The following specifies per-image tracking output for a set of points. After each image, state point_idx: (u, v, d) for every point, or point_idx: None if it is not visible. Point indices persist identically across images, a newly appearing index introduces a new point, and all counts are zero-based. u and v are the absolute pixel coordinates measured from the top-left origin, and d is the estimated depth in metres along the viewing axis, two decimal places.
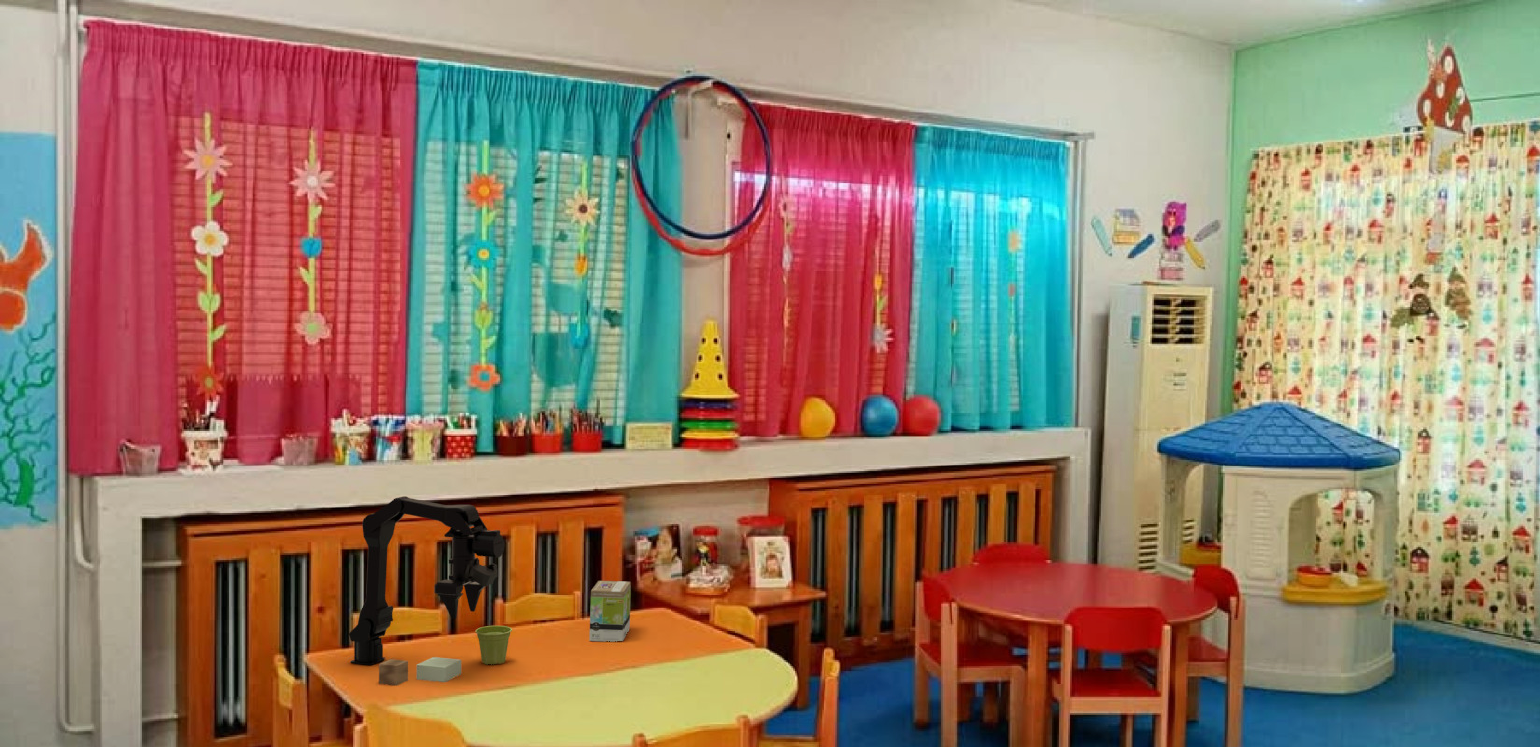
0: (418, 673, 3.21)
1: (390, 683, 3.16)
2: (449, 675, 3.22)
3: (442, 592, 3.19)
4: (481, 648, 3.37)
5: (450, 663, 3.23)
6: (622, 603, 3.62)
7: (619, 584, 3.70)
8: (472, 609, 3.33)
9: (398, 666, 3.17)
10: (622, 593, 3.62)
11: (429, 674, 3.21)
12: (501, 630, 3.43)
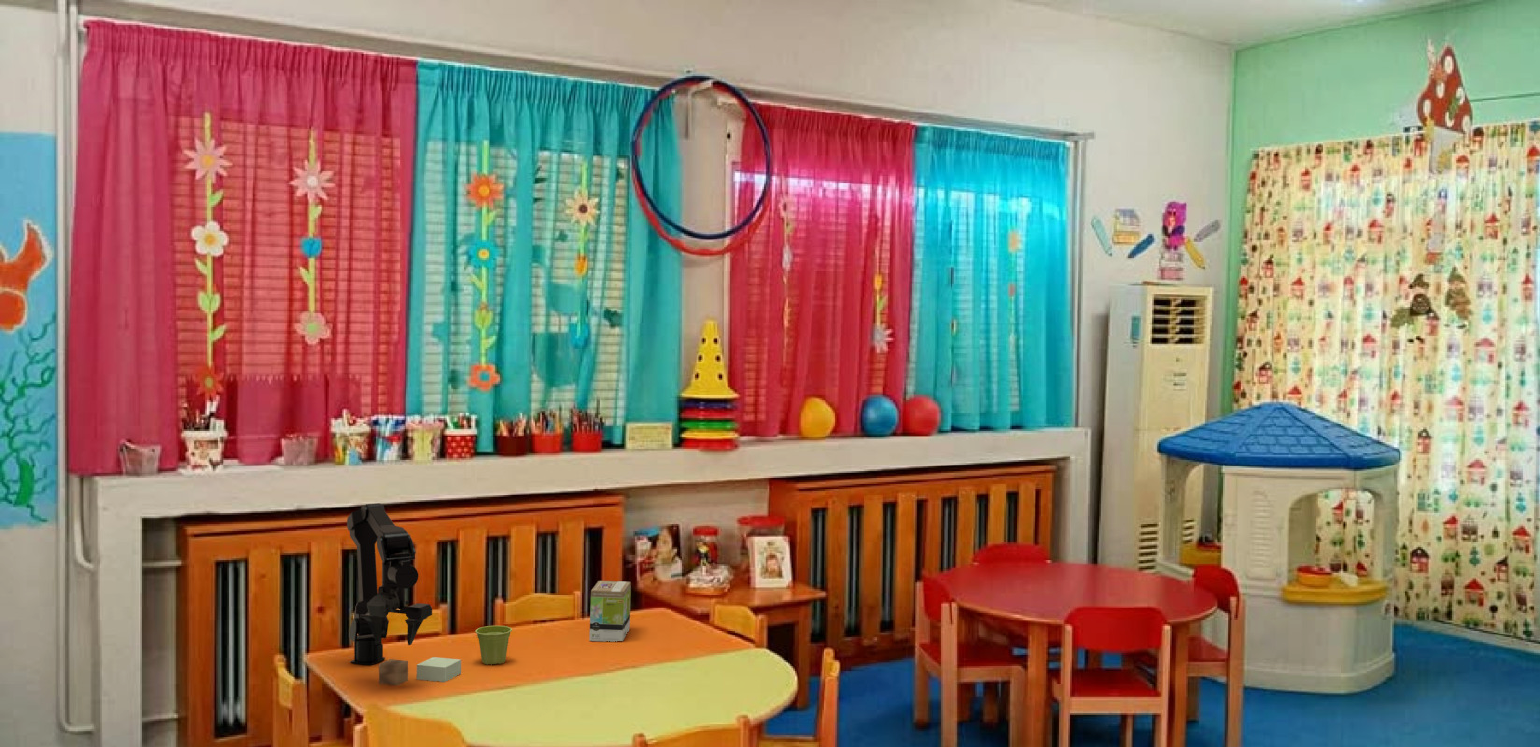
0: (418, 673, 3.21)
1: (390, 683, 3.16)
2: (449, 675, 3.22)
3: None
4: (481, 648, 3.37)
5: (450, 663, 3.23)
6: (622, 603, 3.62)
7: (619, 584, 3.70)
8: None
9: (398, 666, 3.17)
10: (622, 593, 3.62)
11: (430, 674, 3.21)
12: (501, 630, 3.43)
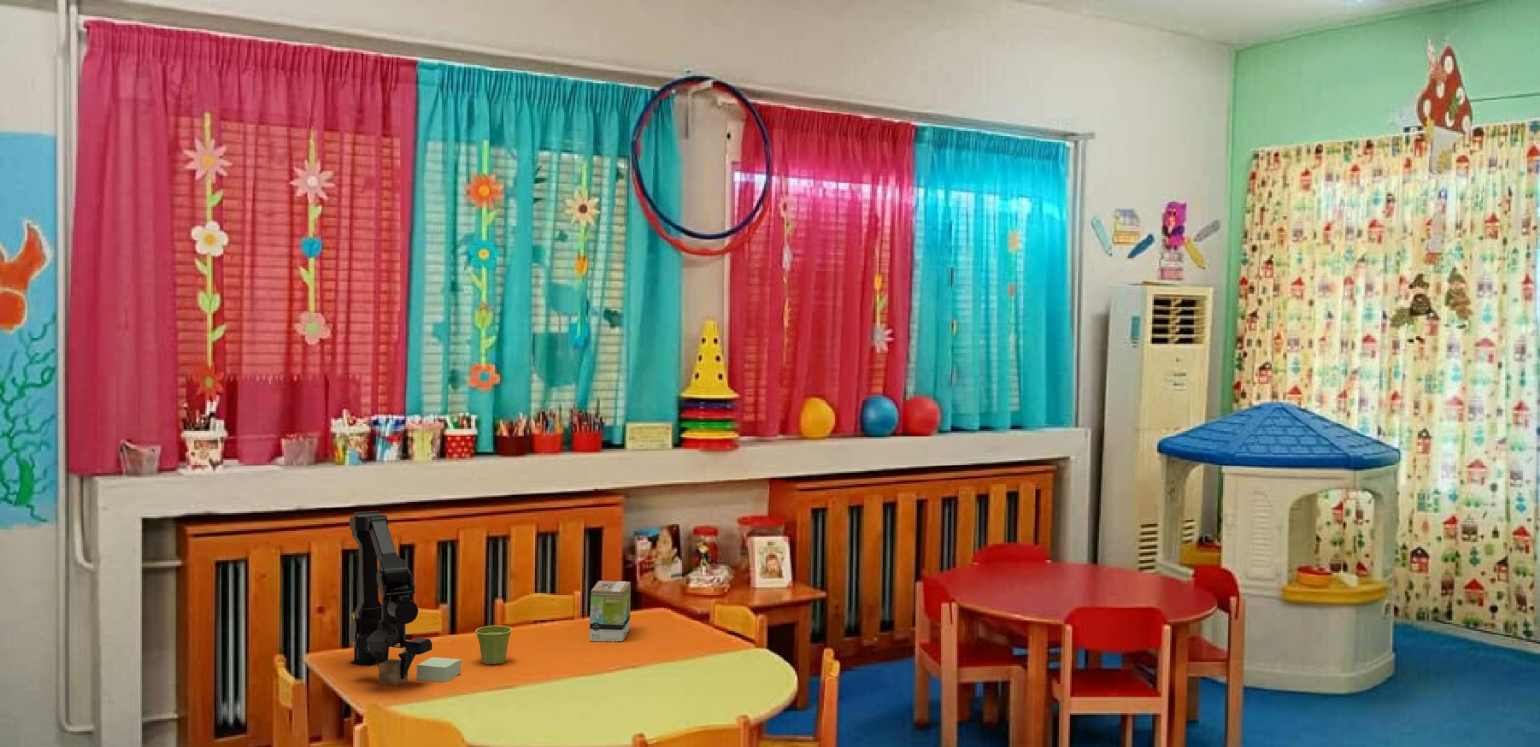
0: (418, 673, 3.21)
1: (390, 683, 3.16)
2: (450, 675, 3.22)
3: None
4: (481, 648, 3.37)
5: (450, 663, 3.23)
6: (622, 603, 3.62)
7: (619, 584, 3.70)
8: None
9: (398, 666, 3.17)
10: (622, 593, 3.62)
11: (430, 674, 3.21)
12: (501, 630, 3.43)
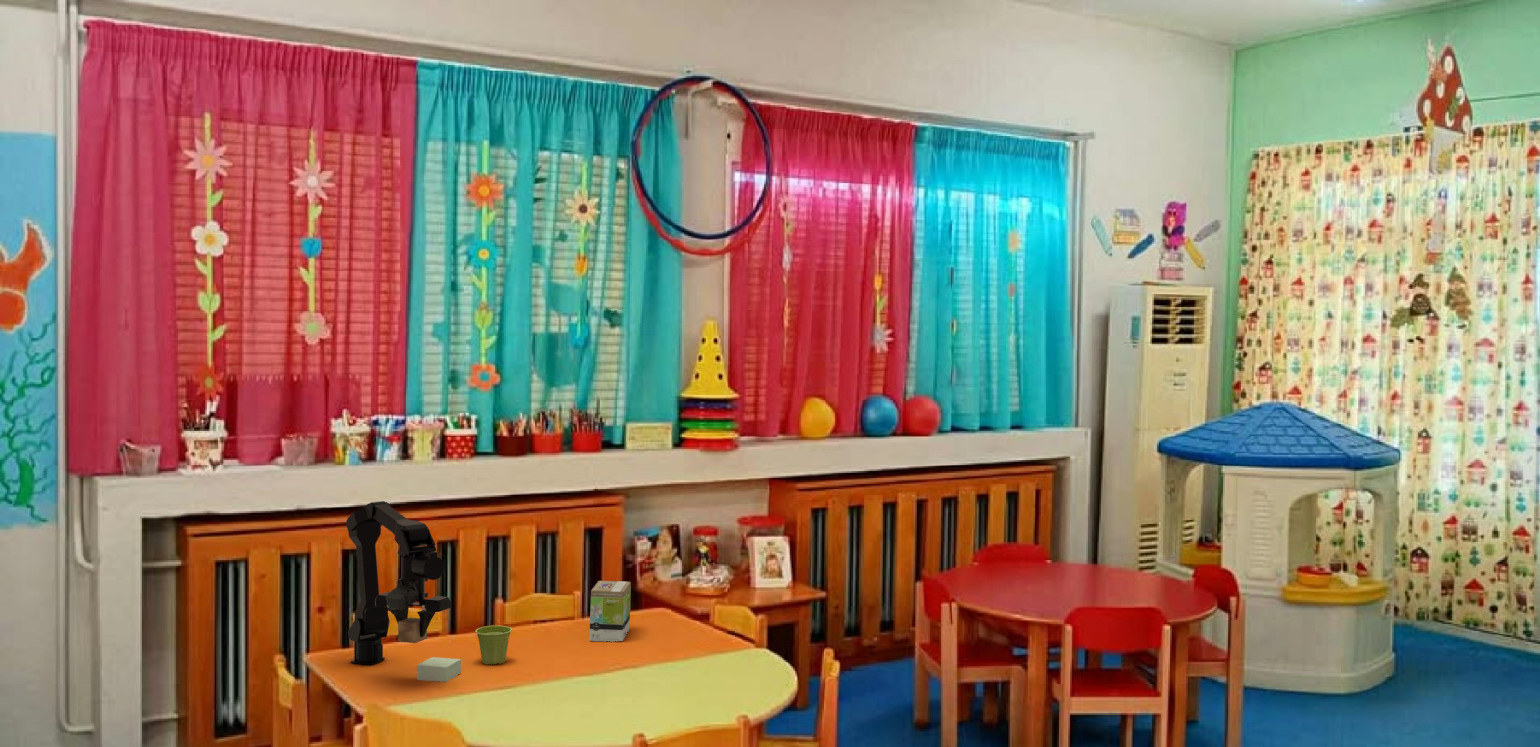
0: (419, 673, 3.21)
1: (409, 640, 3.18)
2: (450, 675, 3.22)
3: None
4: (481, 648, 3.37)
5: (450, 663, 3.23)
6: (622, 603, 3.62)
7: (619, 584, 3.70)
8: None
9: (417, 623, 3.18)
10: (622, 593, 3.62)
11: (430, 674, 3.21)
12: (501, 630, 3.43)
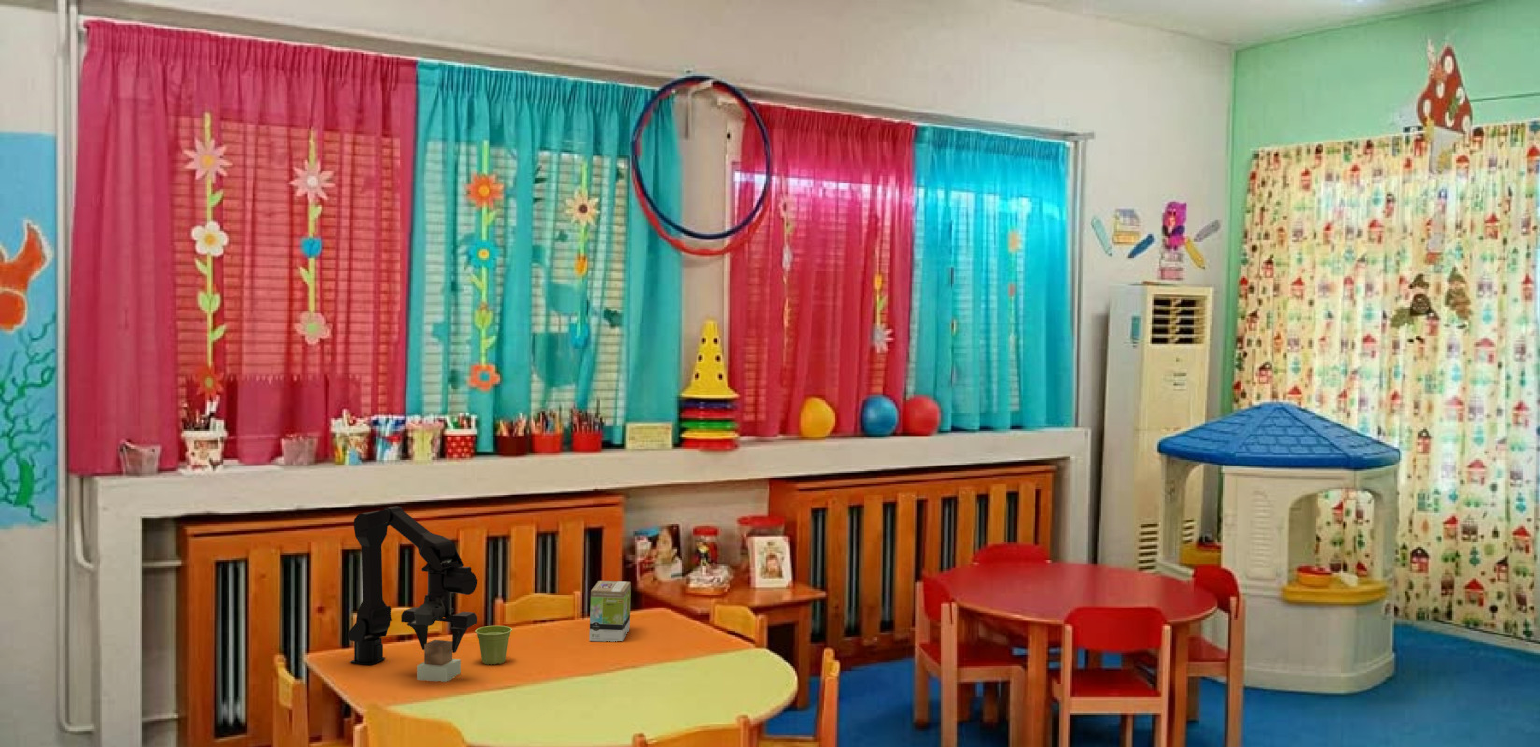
0: (419, 673, 3.21)
1: (435, 663, 3.22)
2: (450, 675, 3.22)
3: None
4: (481, 648, 3.37)
5: (451, 663, 3.24)
6: (622, 603, 3.62)
7: (619, 584, 3.70)
8: None
9: (443, 646, 3.22)
10: (622, 593, 3.62)
11: (431, 675, 3.20)
12: (501, 630, 3.43)
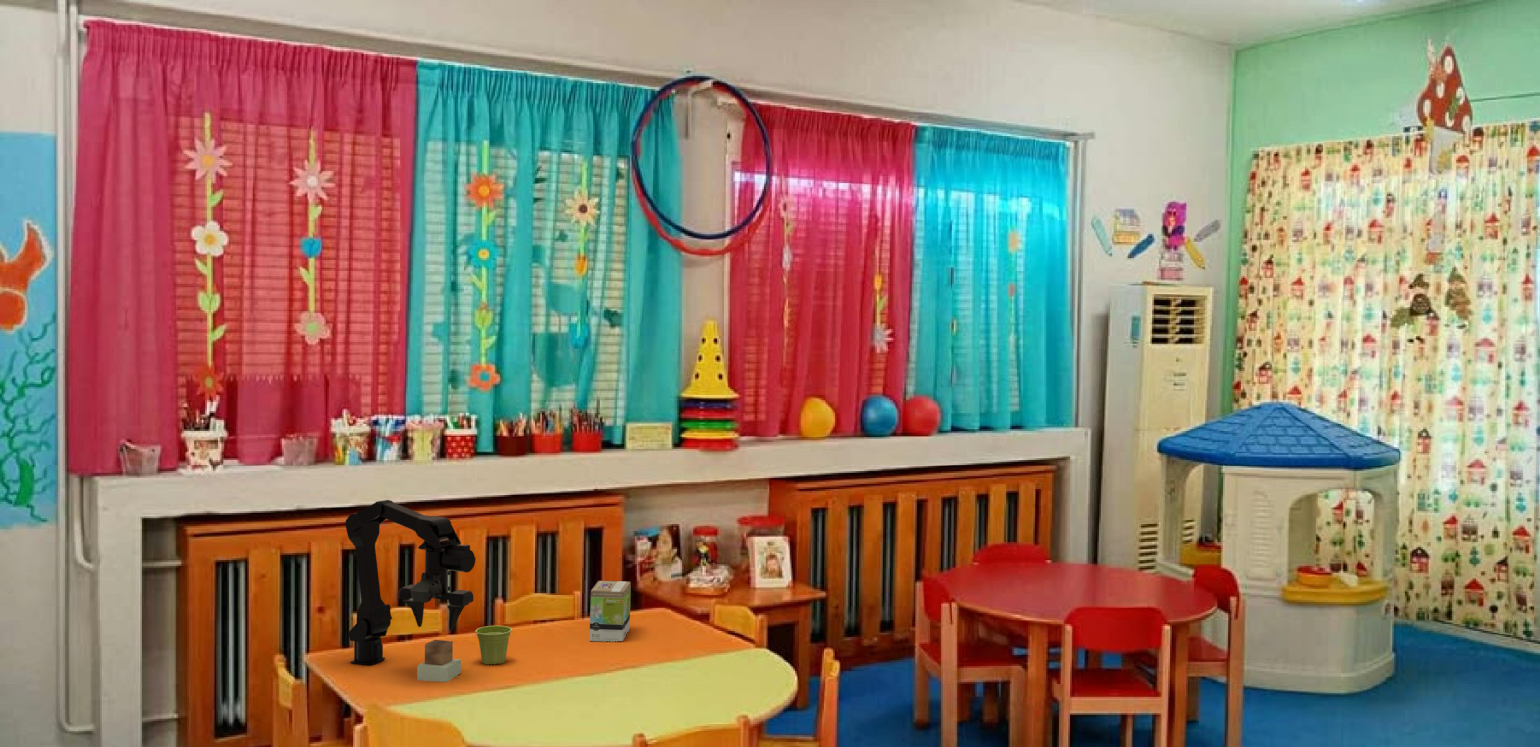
0: (419, 673, 3.21)
1: (436, 663, 3.22)
2: (451, 675, 3.22)
3: None
4: (481, 648, 3.37)
5: (451, 663, 3.23)
6: (622, 603, 3.62)
7: (619, 584, 3.70)
8: None
9: (444, 646, 3.22)
10: (622, 593, 3.62)
11: (431, 675, 3.20)
12: (501, 630, 3.43)
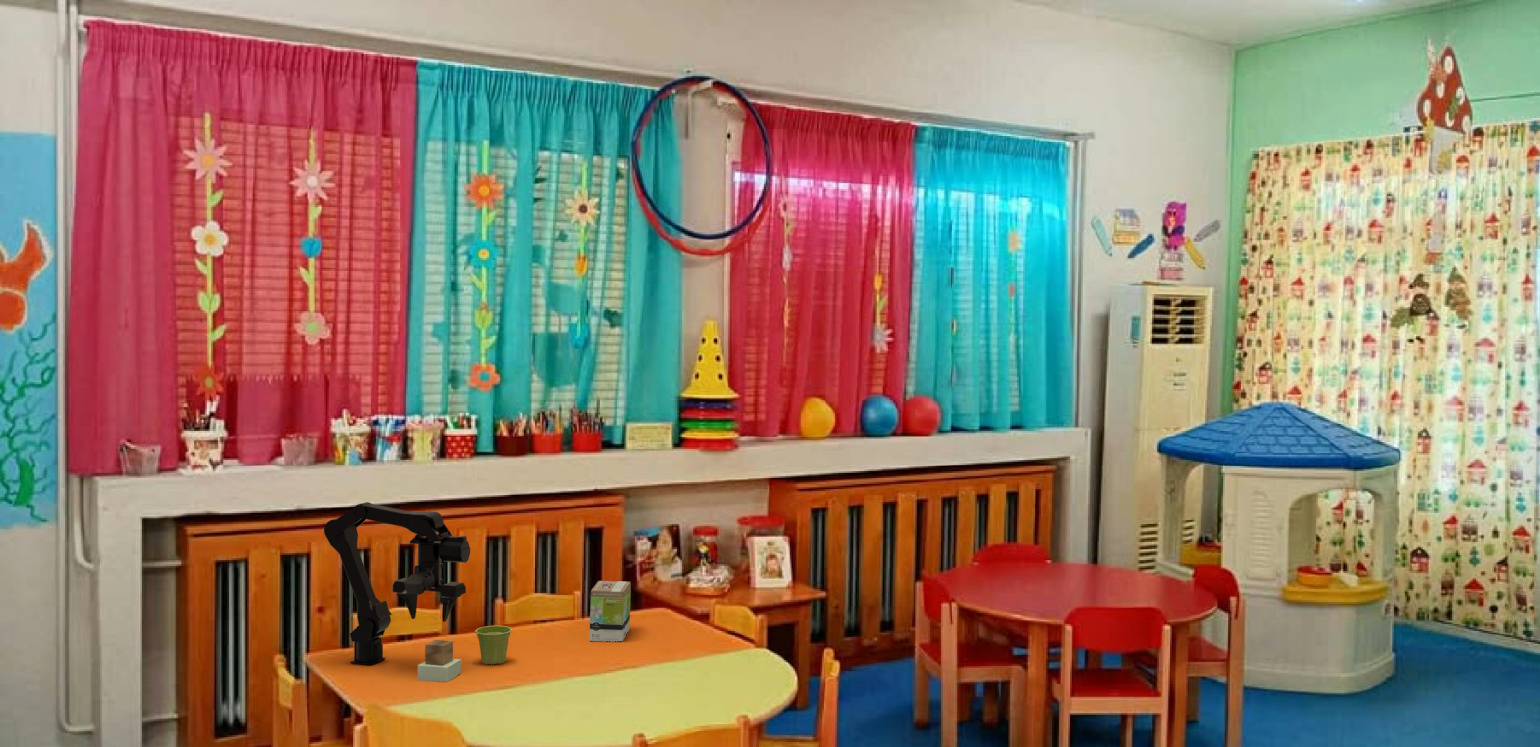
0: (419, 673, 3.21)
1: (436, 663, 3.22)
2: (451, 675, 3.22)
3: None
4: (481, 648, 3.37)
5: (451, 663, 3.23)
6: (622, 603, 3.62)
7: (619, 584, 3.70)
8: None
9: (444, 646, 3.22)
10: (622, 593, 3.62)
11: (431, 675, 3.20)
12: (501, 630, 3.43)
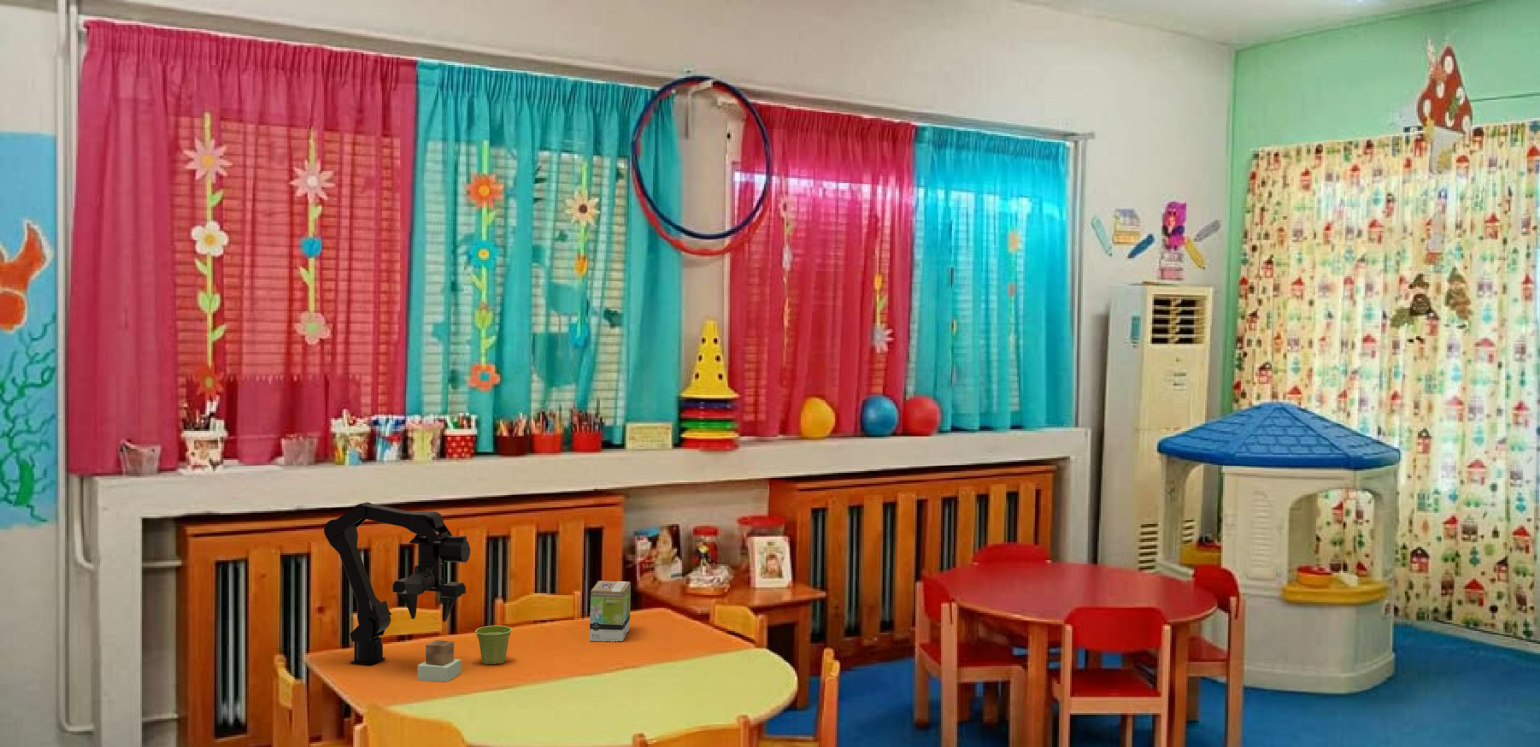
0: (419, 673, 3.21)
1: (437, 663, 3.21)
2: (451, 675, 3.22)
3: None
4: (481, 648, 3.37)
5: (451, 663, 3.23)
6: (622, 603, 3.62)
7: (619, 584, 3.70)
8: None
9: (445, 646, 3.21)
10: (622, 593, 3.62)
11: (431, 675, 3.20)
12: (501, 630, 3.43)
